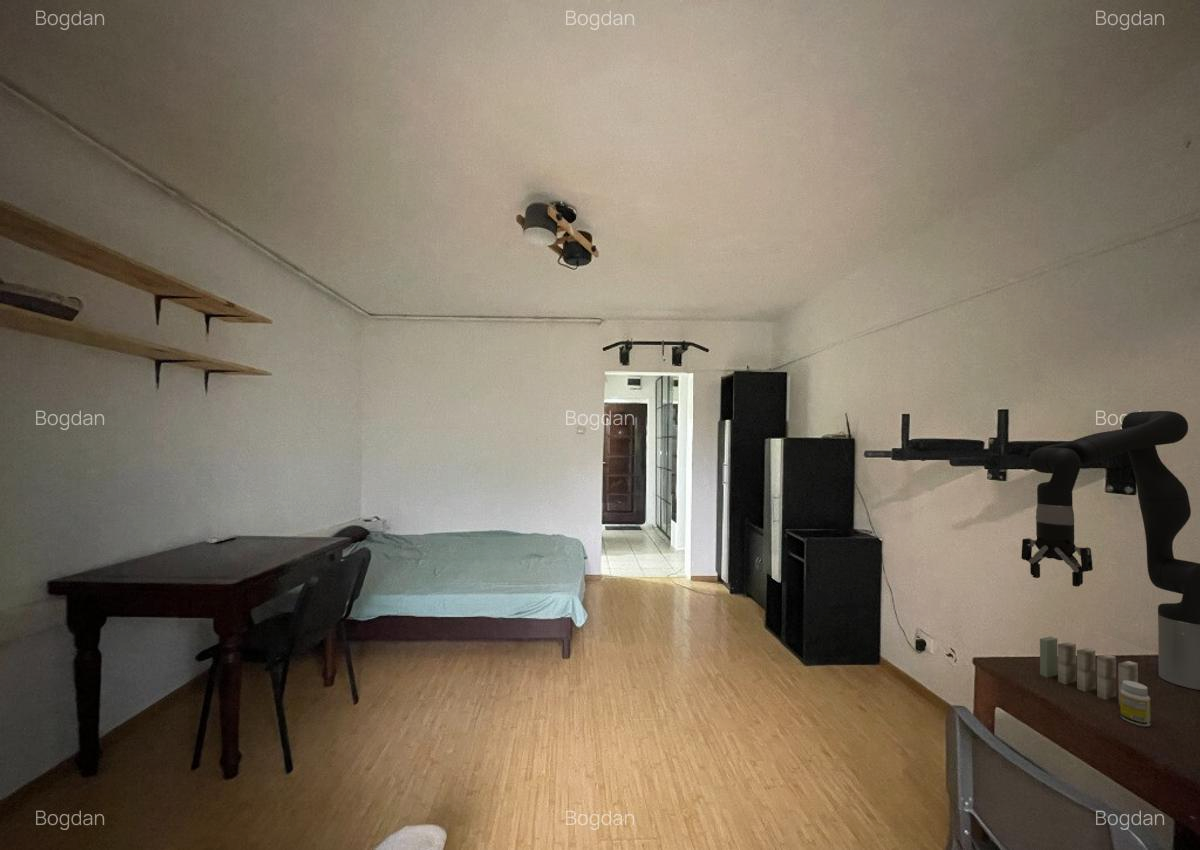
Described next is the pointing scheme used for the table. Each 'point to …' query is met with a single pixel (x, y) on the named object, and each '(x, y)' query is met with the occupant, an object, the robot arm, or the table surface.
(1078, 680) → the domino
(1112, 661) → the domino
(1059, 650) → the domino
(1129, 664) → the domino
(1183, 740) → the table surface
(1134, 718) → the supplement bottle
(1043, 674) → the domino
